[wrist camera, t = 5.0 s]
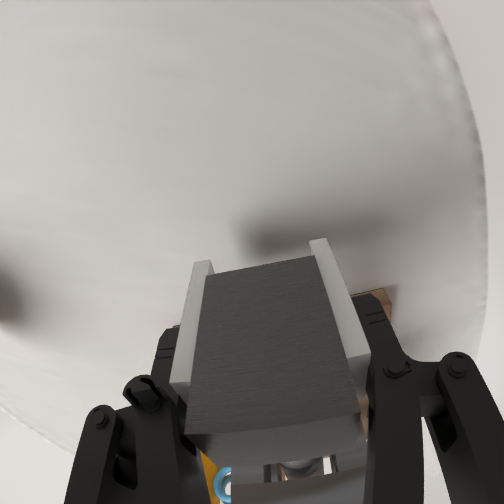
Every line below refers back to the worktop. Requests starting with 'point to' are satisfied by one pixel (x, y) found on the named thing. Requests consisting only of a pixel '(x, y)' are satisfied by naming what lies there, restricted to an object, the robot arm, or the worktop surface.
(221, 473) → the cylinder
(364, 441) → the jig
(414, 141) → the worktop surface
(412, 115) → the worktop surface
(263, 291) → the shaft
